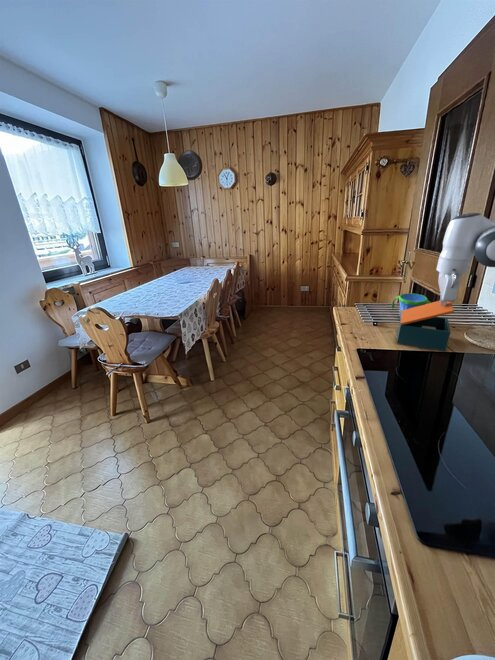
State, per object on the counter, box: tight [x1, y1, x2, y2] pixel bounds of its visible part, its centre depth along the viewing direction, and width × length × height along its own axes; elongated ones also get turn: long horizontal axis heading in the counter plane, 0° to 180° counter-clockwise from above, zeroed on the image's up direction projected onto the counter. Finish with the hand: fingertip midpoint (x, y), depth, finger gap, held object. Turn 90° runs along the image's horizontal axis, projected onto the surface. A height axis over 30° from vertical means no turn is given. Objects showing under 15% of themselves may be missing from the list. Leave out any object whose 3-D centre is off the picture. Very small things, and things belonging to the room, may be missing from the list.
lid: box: [400, 300, 455, 325], centre depth 103 cm, size 16×12×1 cm
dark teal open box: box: [396, 316, 452, 352], centre depth 107 cm, size 15×12×8 cm
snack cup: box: [391, 292, 432, 319], centre depth 123 cm, size 16×10×10 cm
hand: (442, 304), depth 100 cm, fingers closed
